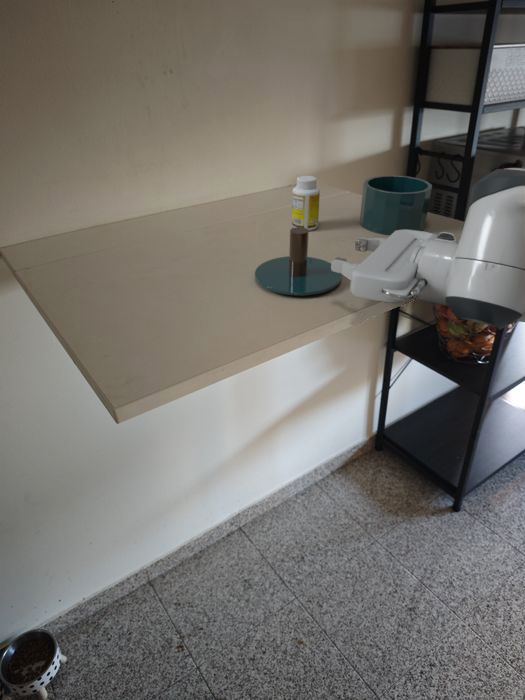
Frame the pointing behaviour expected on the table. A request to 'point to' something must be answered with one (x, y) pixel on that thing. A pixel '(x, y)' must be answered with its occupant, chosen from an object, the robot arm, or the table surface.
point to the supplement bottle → (305, 203)
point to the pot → (394, 204)
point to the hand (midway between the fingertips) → (345, 253)
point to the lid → (297, 270)
